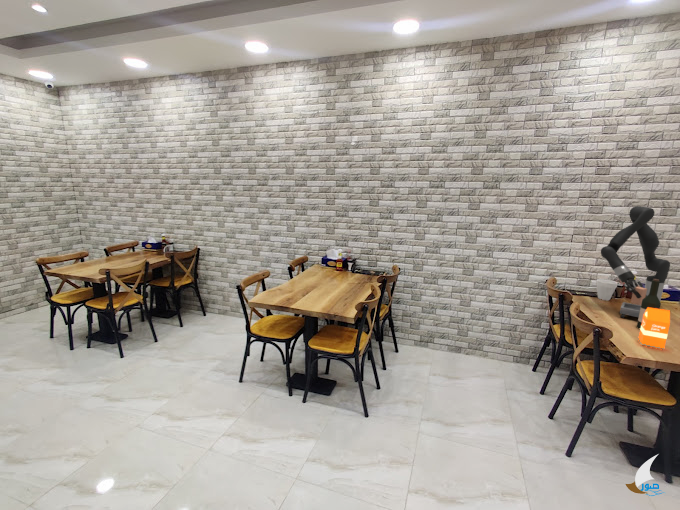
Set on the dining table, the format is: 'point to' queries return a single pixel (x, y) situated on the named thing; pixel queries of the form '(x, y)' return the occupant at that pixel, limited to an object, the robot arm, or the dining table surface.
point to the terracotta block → (642, 292)
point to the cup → (605, 288)
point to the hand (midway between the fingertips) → (642, 297)
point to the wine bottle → (649, 301)
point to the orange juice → (655, 327)
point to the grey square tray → (630, 309)
